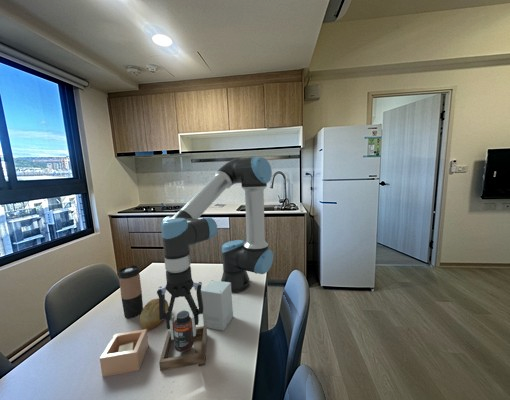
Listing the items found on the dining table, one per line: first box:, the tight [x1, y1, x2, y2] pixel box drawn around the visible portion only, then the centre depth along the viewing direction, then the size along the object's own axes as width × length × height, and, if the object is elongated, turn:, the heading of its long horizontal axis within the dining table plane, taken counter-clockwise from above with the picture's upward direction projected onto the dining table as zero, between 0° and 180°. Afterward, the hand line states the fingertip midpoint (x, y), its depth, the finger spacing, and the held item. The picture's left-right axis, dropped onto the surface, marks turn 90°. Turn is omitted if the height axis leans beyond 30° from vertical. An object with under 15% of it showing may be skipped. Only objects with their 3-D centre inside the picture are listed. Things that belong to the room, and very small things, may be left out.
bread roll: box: [139, 297, 169, 331], centre depth 91 cm, size 10×15×8 cm, turn 3°
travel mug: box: [117, 264, 144, 319], centre depth 96 cm, size 8×8×20 cm
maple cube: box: [118, 342, 134, 352], centre depth 71 cm, size 4×4×4 cm
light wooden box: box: [99, 329, 149, 378], centre depth 71 cm, size 10×10×7 cm
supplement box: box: [201, 279, 234, 331], centre depth 88 cm, size 9×9×15 cm
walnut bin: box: [158, 325, 208, 371], centre depth 74 cm, size 13×13×4 cm
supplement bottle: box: [173, 310, 194, 353], centre depth 73 cm, size 6×6×11 cm
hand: (184, 334), depth 74 cm, fingers closed on supplement bottle, 6 cm apart
